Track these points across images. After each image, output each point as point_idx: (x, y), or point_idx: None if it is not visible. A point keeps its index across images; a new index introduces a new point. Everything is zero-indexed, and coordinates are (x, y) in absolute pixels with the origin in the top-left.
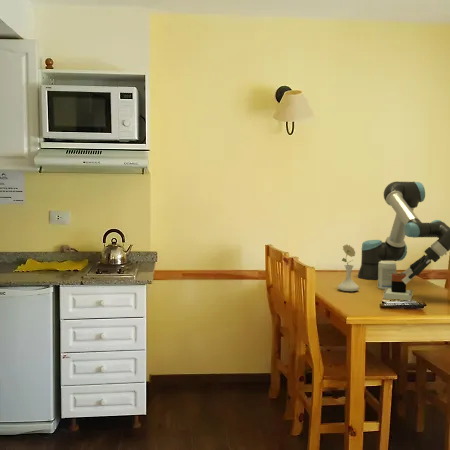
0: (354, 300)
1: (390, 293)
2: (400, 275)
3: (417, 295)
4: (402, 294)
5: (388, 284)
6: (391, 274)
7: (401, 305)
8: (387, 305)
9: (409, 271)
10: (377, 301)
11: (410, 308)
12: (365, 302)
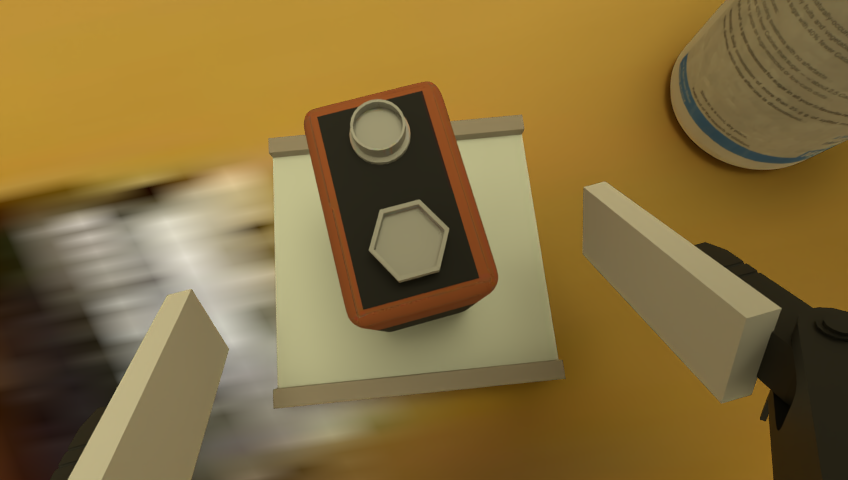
0: (119, 5)
1: (275, 204)
2: (328, 230)
3: (621, 410)
4: (288, 317)
5: (707, 99)
6: (822, 50)
7: (94, 353)
8: (45, 249)
9: (684, 328)
10: (162, 150)
11: (4, 448)
12: (84, 83)
